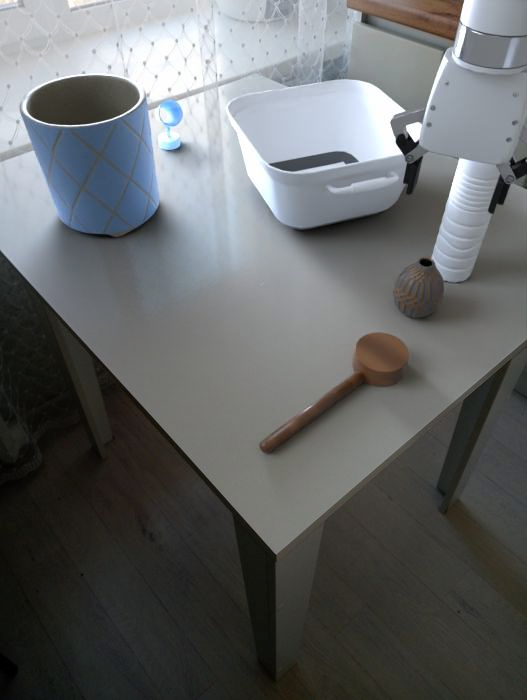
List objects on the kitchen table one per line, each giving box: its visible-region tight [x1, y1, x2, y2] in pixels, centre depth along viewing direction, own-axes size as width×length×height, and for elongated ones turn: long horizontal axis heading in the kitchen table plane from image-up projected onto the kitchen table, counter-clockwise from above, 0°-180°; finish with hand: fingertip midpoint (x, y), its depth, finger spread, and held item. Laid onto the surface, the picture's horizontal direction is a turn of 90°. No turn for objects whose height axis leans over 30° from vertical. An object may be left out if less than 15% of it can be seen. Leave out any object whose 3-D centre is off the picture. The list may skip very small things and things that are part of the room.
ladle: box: [259, 331, 410, 454], centre depth 70 cm, size 24×7×3 cm, turn 131°
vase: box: [393, 256, 445, 319], centre depth 79 cm, size 7×7×9 cm
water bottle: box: [430, 158, 500, 283], centre depth 79 cm, size 9×6×25 cm
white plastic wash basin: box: [225, 78, 422, 231], centre depth 96 cm, size 34×29×15 cm
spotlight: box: [154, 98, 184, 151], centre depth 112 cm, size 5×10×7 cm
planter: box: [18, 73, 160, 238], centre depth 92 cm, size 19×19×20 cm
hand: (450, 198), depth 66 cm, fingers open, 9 cm apart
